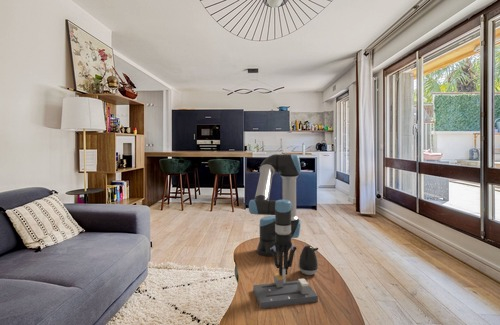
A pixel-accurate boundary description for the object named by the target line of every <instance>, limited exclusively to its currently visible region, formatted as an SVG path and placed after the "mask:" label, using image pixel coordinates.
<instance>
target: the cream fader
mask: <svg viewBox="0 0 500 325" xmlns="http://www.w3.org/2000/svg"><path fill="white" fill-rule="evenodd" d="M297 281H298V289H299V291H300V292H301V293H302V294H309V286H310V285H309V282H307V280H306V279H305V278H298V279H297Z"/></svg>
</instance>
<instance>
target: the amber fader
mask: <svg viewBox="0 0 500 325" xmlns="http://www.w3.org/2000/svg"><path fill="white" fill-rule="evenodd" d="M273 276H274V277H273V279H274V280H273V283H275V285H276V286H277V288H279V287H283V276H282V275H281V276H280V274H279V272H274V274H273Z"/></svg>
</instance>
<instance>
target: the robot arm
mask: <svg viewBox="0 0 500 325" xmlns="http://www.w3.org/2000/svg"><path fill="white" fill-rule="evenodd" d="M300 161H301V159H300V157H299V155H298V154H291V153H284V154H283V153H282V154H277V153H275V154H271V155H269V156H268V157H266V158H265V159H264V160H263V161H262V162H261V164H260V167H259V178H258V182H257V187H256V191H255V196H254V199H250V200H249V202H248V212H249V214H251V215H257V216H258V215H261V216H262V215H263V217H261V218H260V219H259V241H258V245H257V248H256V253H257V254H258V255H260V256H264V257H272V258H273V262H274V266H275V267H276V268H277V269H278V273H279V274H280V276H281V275H282V276H283V283H286V282H287V281H286V280H287V279H286V278H287V277H286V276H287V275H288V269H289V268H291V267H292V263H293V260H294V256H295V252H296V250H297V246H295V245H294V244H293V243H292V239H298V238H299V236H300V232H301V225H302V221H301V219H299V216H298V215H297V178H298V177H299V174H301V172H302V169H301V162H300ZM276 173H277V174H278V173H279V176H280V177H281V179H282V199H278V200H277V199H276V200H275V199H273V200H272V199H271V200H270V195H271V188H272V181H273V177H274V175H275V174H276ZM277 256H278V257H277Z"/></svg>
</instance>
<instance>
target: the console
mask: <svg viewBox="0 0 500 325" xmlns="http://www.w3.org/2000/svg"><path fill="white" fill-rule="evenodd" d="M252 287H253V288H252V289H253V294H254V295H255V298H256V300H257V303H258V305H259V308H260V309H267V308H269V309H270V308H276V307H283V306H285V307H286V306H292V305H299V304H307V303H308V304H309V303H310V304H311V303H315V302H317V303H318V302H319V296H318V295H317V293H316V292H315V290H313V288H312V287H311V285H309V294H302V293H301V292H300V291H299V289H298V280H291V281H286V283H283V287H279V288H277V286H276V285H275V283H274V282H273V283H272V282H270V283H264V284H263V283H261V284H254V285H253V286H252Z"/></svg>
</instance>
